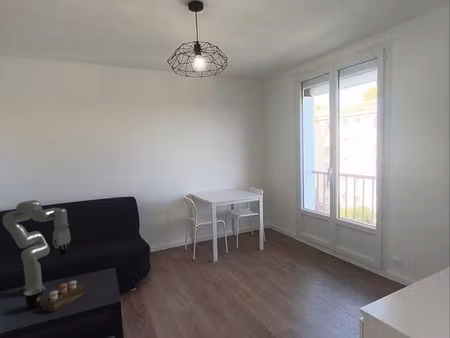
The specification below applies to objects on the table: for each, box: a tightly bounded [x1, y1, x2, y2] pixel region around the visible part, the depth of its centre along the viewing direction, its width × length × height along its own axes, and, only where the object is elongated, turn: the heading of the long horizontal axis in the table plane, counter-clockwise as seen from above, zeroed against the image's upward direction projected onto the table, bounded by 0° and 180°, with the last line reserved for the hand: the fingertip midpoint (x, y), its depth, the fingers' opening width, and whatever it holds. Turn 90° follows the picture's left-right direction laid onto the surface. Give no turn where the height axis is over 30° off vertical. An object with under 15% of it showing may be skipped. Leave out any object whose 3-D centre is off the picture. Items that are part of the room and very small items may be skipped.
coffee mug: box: [24, 288, 44, 311], centre depth 177 cm, size 12×9×10 cm
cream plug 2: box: [67, 280, 77, 290], centre depth 188 cm, size 5×5×8 cm
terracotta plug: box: [58, 282, 69, 295], centre depth 181 cm, size 5×5×8 cm
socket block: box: [41, 284, 85, 313], centre depth 181 cm, size 10×22×6 cm, turn 161°
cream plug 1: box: [48, 290, 59, 301], centre depth 174 cm, size 5×5×8 cm
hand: (63, 254), depth 186 cm, fingers closed
